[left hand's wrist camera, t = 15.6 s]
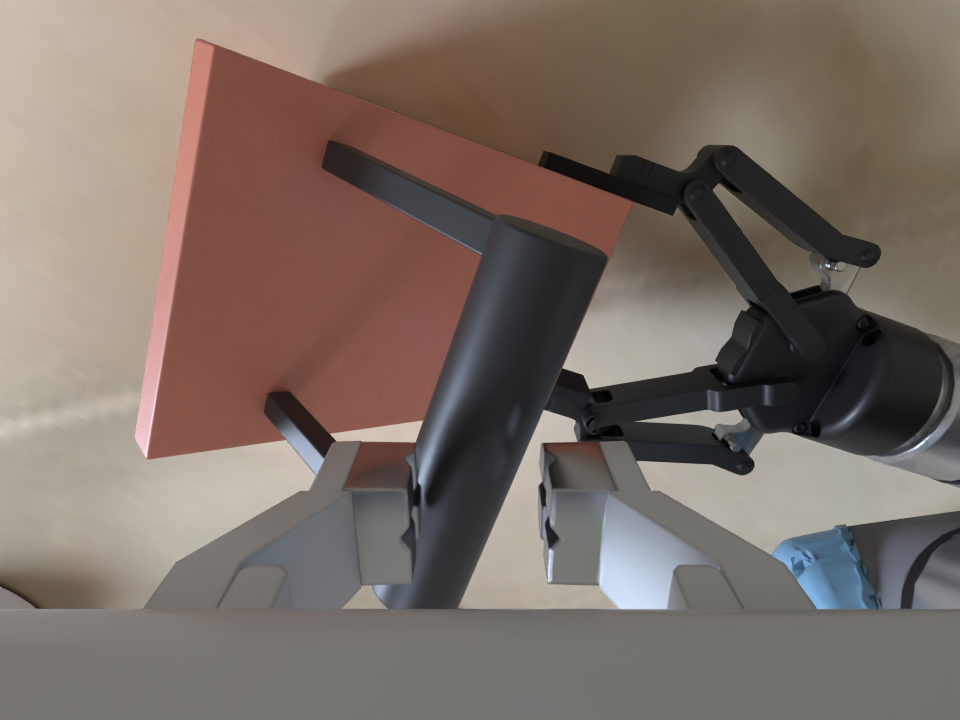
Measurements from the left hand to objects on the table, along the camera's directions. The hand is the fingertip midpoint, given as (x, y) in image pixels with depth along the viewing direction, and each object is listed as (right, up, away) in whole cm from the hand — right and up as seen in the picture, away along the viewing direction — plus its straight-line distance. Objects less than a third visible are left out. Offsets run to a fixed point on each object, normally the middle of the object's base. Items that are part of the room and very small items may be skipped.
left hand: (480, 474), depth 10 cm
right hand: (+1, +7, +19) cm, 20 cm away
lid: (-2, +5, +9) cm, 10 cm away
